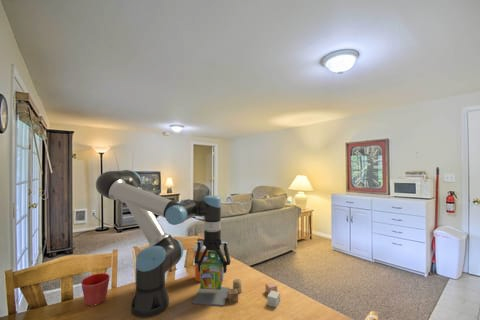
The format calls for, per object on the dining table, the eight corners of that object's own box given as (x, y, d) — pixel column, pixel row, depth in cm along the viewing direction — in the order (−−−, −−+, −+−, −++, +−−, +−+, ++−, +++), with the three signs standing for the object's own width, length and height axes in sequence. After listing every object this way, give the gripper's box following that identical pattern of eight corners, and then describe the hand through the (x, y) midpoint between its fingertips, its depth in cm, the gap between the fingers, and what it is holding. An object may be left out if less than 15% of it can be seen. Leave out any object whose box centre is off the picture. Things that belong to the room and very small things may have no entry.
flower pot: (75, 309, 98) (75, 286, 98) (88, 295, 108) (88, 273, 108) (103, 307, 99) (103, 284, 99) (113, 293, 110) (113, 272, 110)
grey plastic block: (267, 305, 102) (267, 295, 102) (271, 299, 106) (271, 290, 106) (276, 307, 100) (276, 298, 100) (280, 301, 104) (280, 292, 104)
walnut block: (228, 303, 103) (229, 294, 103) (228, 298, 107) (228, 289, 107) (238, 302, 103) (238, 293, 103) (236, 297, 107) (236, 288, 107)
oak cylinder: (232, 293, 110) (232, 282, 110) (233, 289, 114) (233, 278, 114) (240, 294, 110) (241, 283, 110) (241, 289, 114) (242, 279, 114)
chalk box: (200, 289, 104) (200, 255, 104) (204, 279, 113) (204, 248, 113) (221, 290, 103) (221, 256, 104) (223, 279, 113) (223, 248, 113)
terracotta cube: (269, 296, 108) (269, 287, 108) (265, 291, 112) (265, 283, 112) (277, 294, 110) (277, 285, 110) (272, 290, 114) (272, 281, 114)
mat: (192, 303, 102) (192, 302, 102) (201, 286, 116) (201, 285, 116) (224, 306, 101) (224, 304, 101) (229, 288, 114) (229, 287, 114)
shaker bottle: (202, 273, 131) (202, 236, 131) (214, 277, 125) (214, 239, 126) (189, 279, 123) (190, 241, 124) (202, 284, 118) (202, 244, 118)
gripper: (186, 231, 106) (186, 281, 106) (234, 233, 104) (234, 284, 103) (192, 226, 114) (191, 273, 113) (237, 228, 111) (237, 276, 111)
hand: (212, 279), depth 108 cm, fingers closed on chalk box, 9 cm apart
